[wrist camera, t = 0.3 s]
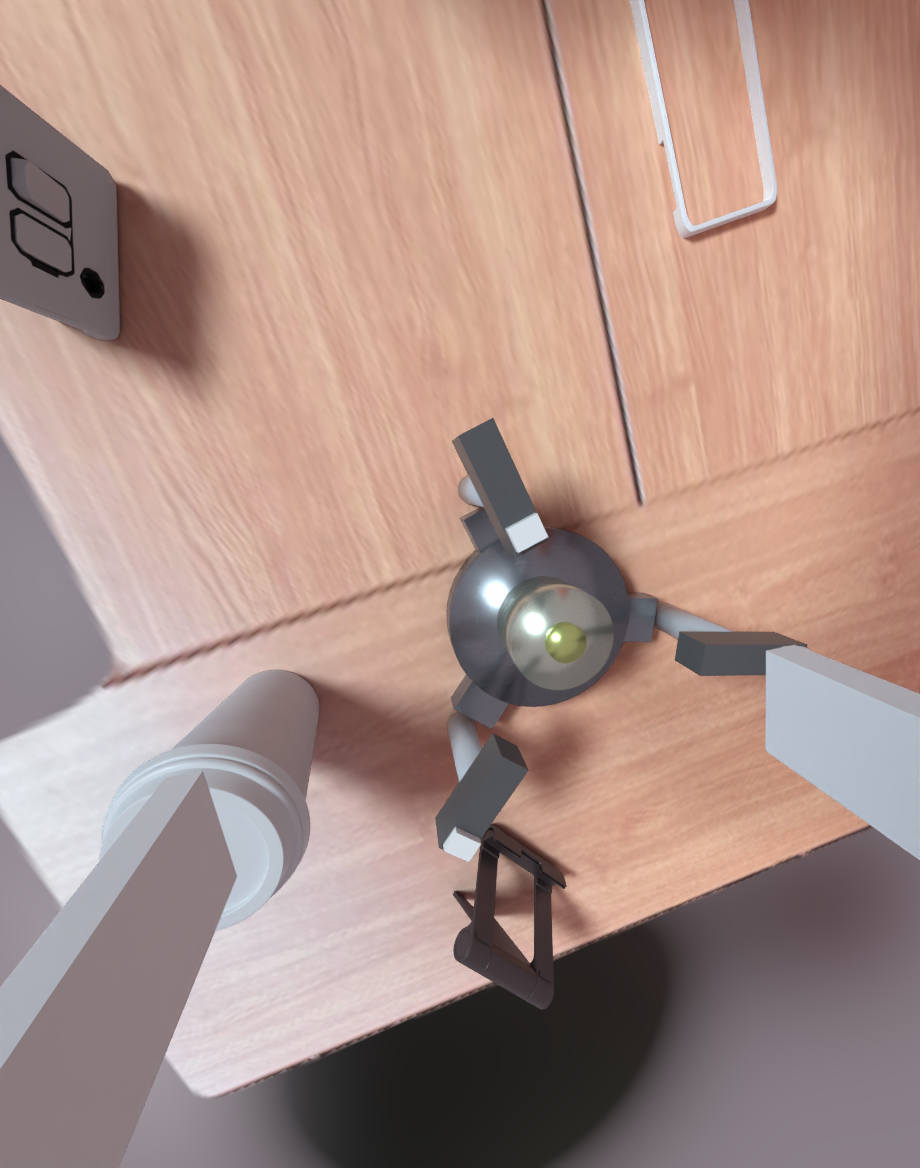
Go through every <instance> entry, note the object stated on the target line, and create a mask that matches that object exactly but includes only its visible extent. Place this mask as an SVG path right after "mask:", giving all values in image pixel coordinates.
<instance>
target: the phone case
mask: <svg viewBox="0 0 920 1168" xmlns="http://www.w3.org/2000/svg"><path fill="white" fill-rule="evenodd" d="M630 5H631V10H632V15H633V20H634V25H635V29H636V34H637V39H638V44H639V49H640V54H641V59H642V64H643V68H644V73H645V78H646V83H647V88H648V93H649V98H650V103H651V108H652V112H653V117H654V122H655V127H656V132H657V137H658V142H659V145H660V144H663V143H664V147H665V152H666V157H667V162H668V167H669V172H670V177H671V182H672V187H673V192H674V196H675V201H676V206H677V209H676V210H675V211H674V212H673V215H674V220H675V224H676V228H677V231H678V233H679V234H680V236H681V237H682V238H687V237H690V236H693V235H696V234H699V233H701V232H704V231H707V230H710V229H713V228H715V227H718V226H721V225H724V224H727V223H729V222H732V221H735V220H738V219H741V218H744V217H746V216H749V215H752V214H755V213H758V212H760V211H763V210H765V209H766V208H768V207H769V206H770V205H772V204H773V203H774V202H775V200H776V197H777V183H776V176H775V170H774V163H773V157H772V150H771V144H770V137H769V131H768V124H767V118H766V111H765V105H764V98H763V91H762V85H761V78H760V72H759V65H758V59H757V52H756V46H755V39H754V33H753V26H752V20H751V13H750V7H749V0H734V6H735V12H736V19H737V25H738V31H739V38H740V44H741V50H742V56H743V63H744V69H745V75H746V82H747V88H748V94H749V100H750V107H751V113H752V119H753V126H754V132H755V138H756V144H757V151H758V157H759V163H760V170H761V176H762V182H763V189H764V200H763V202H761V203H758V204H755V205H753V206H750V207H747V208H744V209H741V210H739V211H736V212H733V213H730V214H727V215H724V216H722V217H719V218H716V219H713V220H710V221H707V222H705V223H702V224H699V225H696V226H693V225H692V224H691V223H690V221H689V219H688V216H687V213H686V209H685V204H684V199H683V194H682V189H681V184H680V179H679V174H678V169H677V164H676V159H675V154H674V149H673V144H672V139H671V134H670V128H669V123H668V118H667V113H666V108H665V103H664V98H663V93H662V88H661V83H660V78H659V73H658V68H657V63H656V58H655V53H654V48H653V43H652V38H651V33H650V28H649V23H648V18H647V13H646V8H645V3H644V0H630Z"/></svg>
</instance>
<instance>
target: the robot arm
mask: <svg viewBox="0 0 920 1168" xmlns="http://www.w3.org/2000/svg"><path fill="white" fill-rule="evenodd" d="M766 751H767V752H768V753H769V754H771V755H772V756H774V757H775V758H776V759H778V760H779V761H781V762H782V763H784V764H785V765H786V766H788V767H789V768H791V769H792V770H793V771H795V772H796V773H798V774H799V775H800V776H802V777H803V778H805V779H806V780H807V781H809V782H810V783H812V784H813V785H815V786H816V787H817V788H819V789H820V790H822V791H823V792H824V793H826V794H827V795H829V796H830V797H831V798H833V799H834V800H836V801H837V802H838V803H840V804H841V805H843V806H844V807H846V808H847V809H848V810H850V811H851V812H853V813H854V814H855V815H857V816H858V817H860V818H861V819H862V820H864V821H865V822H867V823H868V824H870V825H871V826H872V827H874V828H875V829H877V830H878V831H879V832H881V833H882V834H884V835H885V836H886V837H888V838H889V839H891V840H892V841H894V842H895V843H896V844H898V845H899V846H901V847H902V848H903V849H905V850H906V851H908V852H909V853H910V854H912V855H913V856H915V857H916V858H917V859H919V860H920V694H919V693H916V692H914V691H911V690H909V689H906V688H904V687H901V686H899V685H896V684H894V683H891V682H888V681H886V680H883V679H881V678H878V677H876V676H873V675H871V674H868V673H866V672H863V671H860V670H858V669H855V668H853V667H850V666H848V665H845V664H843V663H840V662H837V661H835V660H832V659H830V658H827V657H825V656H822V655H820V654H817V653H815V652H812V651H809V650H807V649H804V648H802V647H799V646H797V645H790V646H786V647H781V648H776V649H772V650H767V651H766ZM236 878H237V874H236V871H235V868H234V865H233V862H232V859H231V856H230V852H229V849H228V846H227V843H226V840H225V837H224V834H223V831H222V828H221V825H220V821H219V818H218V815H217V812H216V809H215V806H214V803H213V800H212V797H211V794H210V790H209V787H208V784H207V781H206V778H205V775H204V772H203V770H202V771H197V772H193V773H188V774H183V775H179V776H174V777H169V778H165V779H164V781H163V782H162V783H161V784H160V786H159V787H158V788H157V789H156V791H155V792H154V793H153V794H152V796H151V797H150V798H149V799H148V801H147V802H146V803H145V805H144V806H143V807H142V808H141V810H140V811H139V812H138V813H137V815H136V816H135V817H134V818H133V820H132V821H131V822H130V824H129V825H128V826H127V827H126V829H125V830H124V831H123V832H122V834H121V835H120V836H119V837H118V839H117V840H116V841H115V843H114V844H113V845H112V846H111V848H110V849H109V850H108V851H107V853H106V854H105V855H104V856H103V858H102V859H101V860H100V861H99V863H98V864H97V865H96V867H95V868H94V869H93V870H92V872H91V873H90V874H89V875H88V877H87V878H86V879H85V880H84V882H83V883H82V884H81V886H80V887H79V888H78V889H77V891H76V892H75V893H74V894H73V896H72V897H71V898H70V899H69V901H68V902H67V903H66V905H65V906H64V907H63V908H62V910H61V911H60V912H59V913H58V915H57V916H56V917H55V918H54V920H53V921H52V922H51V924H50V925H49V926H48V927H47V929H46V930H45V931H44V932H43V934H42V935H41V936H40V938H39V939H38V940H37V941H36V943H35V944H34V945H33V946H32V948H31V949H30V950H29V951H28V953H27V954H26V955H25V957H24V958H23V959H22V960H21V962H20V963H19V964H18V965H17V967H16V968H15V969H14V970H13V972H12V973H11V974H10V975H9V977H8V978H7V979H6V980H5V982H4V983H3V984H2V986H1V987H0V1168H119V1167H120V1164H121V1162H122V1159H123V1156H124V1154H125V1152H126V1149H127V1147H128V1144H129V1142H130V1140H131V1137H132V1135H133V1132H134V1130H135V1127H136V1125H137V1122H138V1120H139V1117H140V1115H141V1112H142V1110H143V1108H144V1105H145V1102H146V1100H147V1098H148V1095H149V1093H150V1090H151V1088H152V1085H153V1083H154V1080H155V1078H156V1075H157V1073H158V1070H159V1068H160V1065H161V1063H162V1061H163V1058H164V1056H165V1053H166V1051H167V1048H168V1046H169V1043H170V1041H171V1038H172V1036H173V1034H174V1031H175V1029H176V1026H177V1024H178V1021H179V1019H180V1016H181V1014H182V1011H183V1009H184V1006H185V1004H186V1001H187V999H188V997H189V994H190V992H191V989H192V987H193V984H194V982H195V979H196V977H197V974H198V972H199V969H200V967H201V964H202V962H203V960H204V957H205V955H206V952H207V950H208V947H209V945H210V942H211V940H212V937H213V935H214V932H215V930H216V928H217V925H218V923H219V920H220V918H221V915H222V913H223V910H224V908H225V905H226V903H227V900H228V898H229V895H230V893H231V891H232V888H233V886H234V883H235V881H236Z"/></svg>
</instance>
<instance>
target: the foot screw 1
mask: <svg viewBox="0 0 920 1168" xmlns="http://www.w3.org/2000/svg"><path fill="white" fill-rule="evenodd" d="M452 443H453V445H454V447H455V449H456V451H457V453H458V455H459V457H460V459H461V461H462V463H463V465H464V467H465V469H466V471H467V473H468V475H467V476H465V477H464V478H463V479H462V480H461V481H460V483H459V486H458V493H459V496H460V498H461V499H462V500H463V501H464V502H465V503H467V504H471V505H476V506H480V507H484V508H485V510H486V512H487V514H488V516H489V518H490V521H491V523H492V525H493V527H494V529H495V531H496V533H497V535H498V537H499V539H500V541H501V543H502V545H503V547H504V549H505V551H506V552H508V553H510V554H512V555H513V556H515V557H518V556H520V555H522V554H524V553H526V552H528V551H530V550H531V549H533V548H535V547H537V546H539V545H541V544H543V543H544V542H546V541H548V540H549V539H548V535H547V533H546V531H545V529H544V527H543V524H542V522H541V520H540V518H539V516H538V513H536V510H535V508H534V506H533V504H532V502H531V499H530V497H529V495H528V493H527V491H526V489H525V486H524V484H523V482H522V480H521V478H520V475H519V473H518V471H517V469H516V467H515V464H514V462H513V460H512V458H511V456H510V454H509V451H508V449H507V447H506V445H505V443H504V440H503V438H502V436H501V434H500V432H499V430H498V427H497V425H496V423H495V421H494V419H493V418H492V419H490V420H488V421H486V422H484V423H482V424H480V425H478V426H476V427H475V428H473V429H471V430H469V431H467V432H465V433H463V434H461V435H459V436H458V437H456V438H455V439H454V440H453V441H452Z"/></svg>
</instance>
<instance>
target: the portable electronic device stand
mask: <svg viewBox="0 0 920 1168" xmlns="http://www.w3.org/2000/svg"><path fill="white" fill-rule="evenodd" d="M499 853H502V854H503V855H505V856H506V857H508V858H509V859H511V860H512V861H513V862H515V863H516V864H518V865H519V866H521V867H522V868H524V869H525V870H527V871H528V872H530V873H531V874H533V875H534V958H533V961H532V962H531V963H529V962H528V960H527V959H526V958H525V956H524V955H523V954H522V952H521V951H520V950H519V949H518V947H517V946H516V945H515V944H514V942H513V941H512V940H511V939H510V937H509V936H508V935H507V933H506V932H505V931H504V930H503V928H502V927H501V926H500V925H499V923H498V922H497V921H496V920H495V918H494V908H495V893H496V878H497V863H498V858H499ZM555 884H557V885H559V886H560V887H562V888H563V889H565V887H567V886H566V882H565V879H564V875H563V873H562V872H561V871H559V870H558V869H557V868H555V867H554V866H552V865H551V864H549V863H548V862H546V861H545V860H543V859H542V858H541V857H539V856H538V855H536V854H535V853H533V852H532V851H530V850H529V849H528V848H526V847H525V846H523V845H522V844H520V843H519V842H517V841H516V840H515V839H513V838H512V837H510V836H509V835H507V834H506V833H504V832H503V831H501V830H500V829H499V828H497V827H496V826H494V825H490V826H489V828H488V829H487V831H486V832H485V834H484V835H483V836H482V838H481V845H480V853H479V862H478V872H477V882H476V892H475V902H474V907H473V906H472V905H471V904H470V903H469V902H468V901H467V900H466V899H465V898H464V897H463V896H462V895H460V894H458V893H457V892H454V893H453V896H454V897H455V898H456V899H457V901H458V902H459V904H460V905H461V907H462V908H463V909H464V911H465V912H466V914H467V915H468V917H469V918H470V919H471V921H472V922H471V923H470V925H469V926H467V927H465V928H463V929H462V930H461V931H460V932H459V934H458V936H457V938H456V940H455V944H454V957H455V959H456V960H457V961H458V962H460V963H461V964H463V965H465V966H467V967H468V968H470V969H472V970H474V971H475V972H477V973H479V974H481V975H482V976H484V977H486V978H487V979H489V980H491V981H493V982H494V983H496V984H498V985H500V986H501V987H503V988H505V989H507V990H508V991H510V992H512V993H514V994H515V995H517V996H519V997H521V998H522V999H524V1000H526V1001H528V1002H529V1003H531V1004H533V1005H534V1006H536V1007H538V1008H540V1009H545V1008H547V1007H548V1006H549V1005H550V1003H551V1001H552V998H553V993H554V987H553V947H552V914H551V893H552V886H553V885H555Z"/></svg>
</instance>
